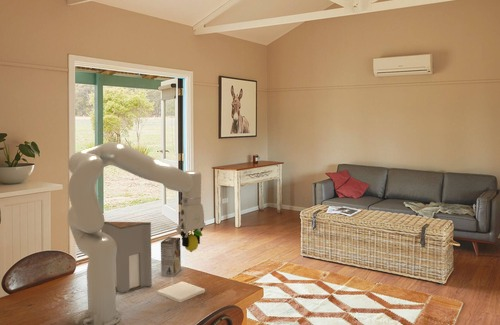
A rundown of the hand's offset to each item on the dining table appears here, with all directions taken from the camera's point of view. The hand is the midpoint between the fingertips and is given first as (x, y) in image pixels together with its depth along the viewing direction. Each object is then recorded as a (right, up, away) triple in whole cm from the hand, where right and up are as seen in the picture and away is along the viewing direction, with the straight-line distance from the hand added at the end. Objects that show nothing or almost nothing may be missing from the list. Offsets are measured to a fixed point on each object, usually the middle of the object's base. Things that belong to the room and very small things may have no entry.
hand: (191, 244), depth 178 cm
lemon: (0, -3, 0) cm, 3 cm away
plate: (-4, -21, +2) cm, 21 cm away
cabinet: (-29, -20, +5) cm, 36 cm away
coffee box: (-13, -19, +25) cm, 34 cm away
